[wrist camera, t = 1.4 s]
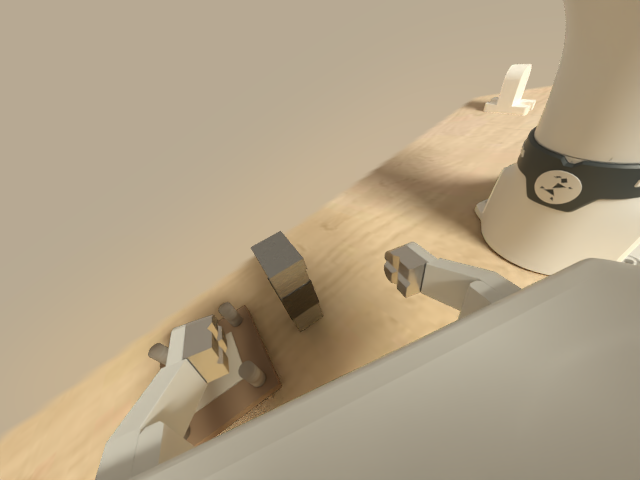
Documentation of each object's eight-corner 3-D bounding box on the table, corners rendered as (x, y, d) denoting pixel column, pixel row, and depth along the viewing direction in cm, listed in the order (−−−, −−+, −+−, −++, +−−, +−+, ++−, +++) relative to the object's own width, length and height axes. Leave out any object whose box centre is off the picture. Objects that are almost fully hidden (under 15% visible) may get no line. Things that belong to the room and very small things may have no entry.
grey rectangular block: (307, 293, 34) (281, 230, 26) (327, 320, 31) (304, 257, 22) (285, 308, 33) (249, 247, 25) (302, 337, 30) (268, 279, 21)
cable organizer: (491, 104, 67) (503, 61, 60) (533, 108, 61) (552, 60, 54) (482, 111, 65) (493, 68, 58) (524, 115, 59) (542, 67, 52)
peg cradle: (247, 309, 34) (233, 291, 31) (281, 386, 26) (267, 373, 23) (165, 360, 31) (140, 347, 28) (175, 466, 23) (141, 464, 20)
